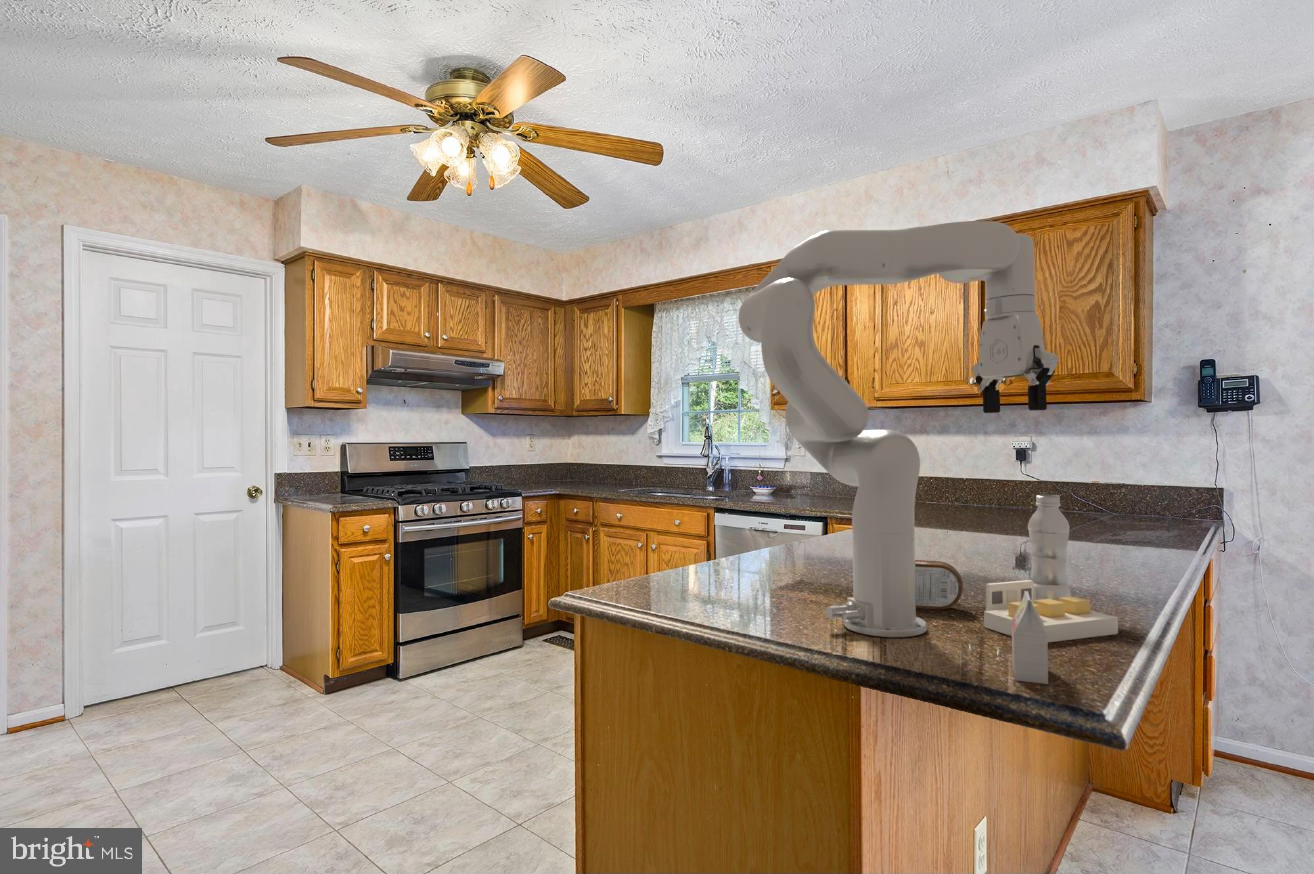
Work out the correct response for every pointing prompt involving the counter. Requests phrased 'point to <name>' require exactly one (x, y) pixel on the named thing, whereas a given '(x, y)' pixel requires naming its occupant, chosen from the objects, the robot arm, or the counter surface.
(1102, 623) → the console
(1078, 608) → the button far
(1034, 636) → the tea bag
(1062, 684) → the counter surface
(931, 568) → the tin
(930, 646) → the counter surface
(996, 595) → the card
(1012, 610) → the button near
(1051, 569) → the plastic bottle
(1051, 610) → the button mid
